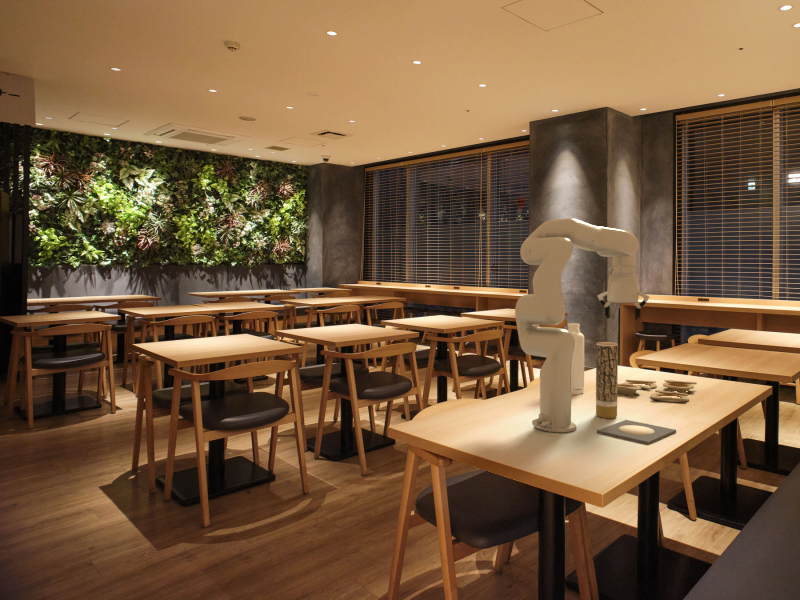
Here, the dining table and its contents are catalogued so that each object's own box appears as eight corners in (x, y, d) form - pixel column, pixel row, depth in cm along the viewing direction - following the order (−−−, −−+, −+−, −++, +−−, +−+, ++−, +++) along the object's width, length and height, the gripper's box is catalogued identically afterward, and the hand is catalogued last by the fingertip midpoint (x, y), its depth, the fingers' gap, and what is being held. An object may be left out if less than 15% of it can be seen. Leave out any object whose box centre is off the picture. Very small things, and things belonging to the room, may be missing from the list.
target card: (648, 444, 160) (648, 441, 160) (596, 432, 172) (596, 430, 172) (676, 432, 172) (676, 429, 172) (626, 422, 184) (626, 419, 184)
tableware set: (684, 406, 205) (684, 395, 205) (603, 396, 223) (603, 386, 223) (701, 389, 233) (701, 380, 233) (627, 382, 251) (627, 373, 251)
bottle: (581, 395, 224) (581, 325, 223) (560, 392, 229) (561, 324, 227) (586, 391, 231) (586, 323, 230) (566, 389, 236) (566, 322, 234)
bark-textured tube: (618, 419, 187) (619, 344, 186) (597, 418, 188) (597, 344, 187) (615, 414, 194) (615, 342, 192) (594, 413, 195) (594, 341, 194)
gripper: (596, 271, 203) (595, 318, 204) (648, 271, 194) (647, 320, 195) (600, 271, 210) (599, 317, 210) (650, 271, 201) (649, 319, 202)
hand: (622, 318), depth 203 cm, fingers open, 9 cm apart
